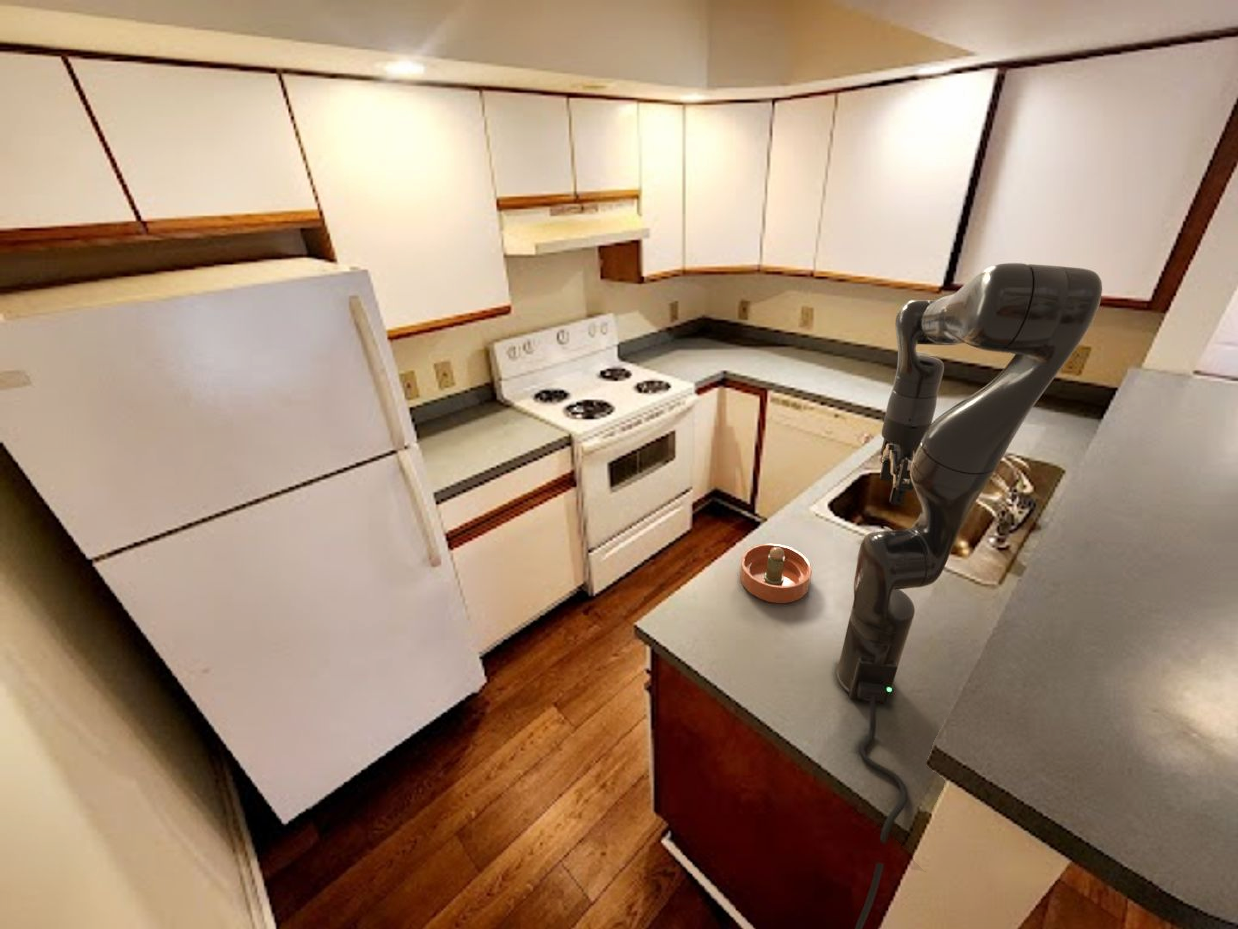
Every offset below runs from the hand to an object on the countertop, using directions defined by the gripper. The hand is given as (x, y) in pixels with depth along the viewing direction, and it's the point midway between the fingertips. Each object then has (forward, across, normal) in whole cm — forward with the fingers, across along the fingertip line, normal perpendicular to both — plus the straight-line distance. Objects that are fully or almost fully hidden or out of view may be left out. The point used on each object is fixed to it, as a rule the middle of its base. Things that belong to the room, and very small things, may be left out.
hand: (890, 491), depth 103 cm
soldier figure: (+28, -18, +6) cm, 34 cm away
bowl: (+28, -3, -19) cm, 34 cm away
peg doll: (+28, -3, -19) cm, 34 cm away
